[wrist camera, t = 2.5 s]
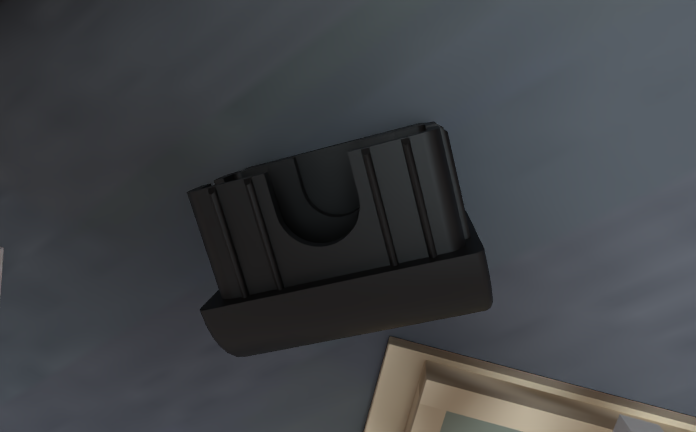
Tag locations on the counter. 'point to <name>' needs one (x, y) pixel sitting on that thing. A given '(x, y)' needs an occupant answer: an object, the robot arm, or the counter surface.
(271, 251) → the end cap
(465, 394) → the picture frame
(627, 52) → the counter surface
